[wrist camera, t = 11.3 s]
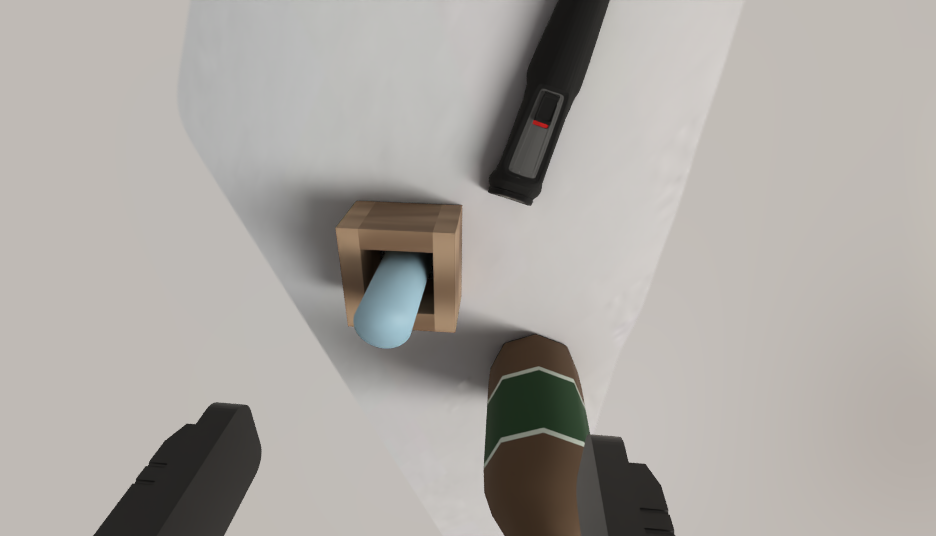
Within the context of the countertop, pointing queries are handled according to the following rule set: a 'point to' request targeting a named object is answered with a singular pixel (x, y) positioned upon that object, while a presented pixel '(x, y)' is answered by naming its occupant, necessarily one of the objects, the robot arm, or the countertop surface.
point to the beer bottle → (534, 439)
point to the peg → (393, 298)
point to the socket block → (410, 232)
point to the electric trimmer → (548, 97)
